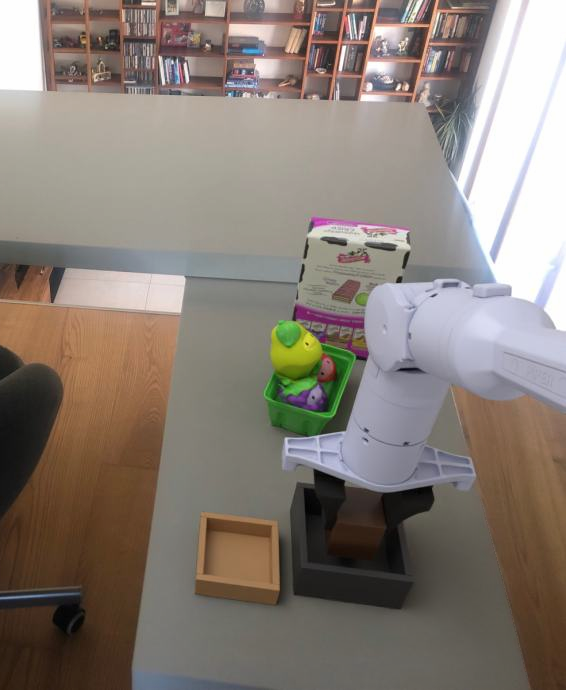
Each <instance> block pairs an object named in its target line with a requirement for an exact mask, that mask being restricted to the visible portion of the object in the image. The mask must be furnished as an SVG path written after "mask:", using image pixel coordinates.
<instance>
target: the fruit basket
mask: <svg viewBox="0 0 566 690" xmlns="http://www.w3.org/2000/svg"><path fill="white" fill-rule="evenodd" d="M270 341H271V345H270V351H269V355H270V356H269V357H270V362H271V365H272V367H273V369H274V370H273V372H272V374H271V376H270V379H269V380H268V383H267V384H266V387H265V389H264V391H263V397H264V400H265V403H266V405H267V409H268V414H269V419H270V424H271V425H273V426H277V427H281V428H283V429H285V430H287V431H290V432H293V433H297V434H300V435H307V437H312V436H318V435H321V433H322V431H323V430H324V428H325V427H326V425H327V424H328V422H329V421H331V420H332V419H334V417H335V416H336V413H337V411H338V407H339V404H340V402H341V399H342V396H343V394H344V391H345V389H346V385H347V383H348V381H349V378H350V375H351V373H352V369H353V367H354V365H355V362H356V359H357V358H356V356H355V354H354V353H352V352H350V351H348V350H344V349H341V348H337V347H333V346H330V345H326V344H323V343H320V342H319V341H318V339H317V338H316V337H315V336H314V335H313V334H311V333H310V332H309V331H307V330H306V329H304V328H303V327H302V326H301V325H300V324H299V323H297V322H294V321H291V320H286V321H285V320H284V319H278V321H277V325H275V326H274V328H273V329H272V331H271V333H270Z"/></svg>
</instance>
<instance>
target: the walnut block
mask: <svg viewBox="0 0 566 690" xmlns="http://www.w3.org/2000/svg"><path fill="white" fill-rule="evenodd" d="M345 493H346V501H345V502H344V503H343V504H342V505H341V507H340V509H339V510H338V512H337V515H336V520H335V523H334V526H333V528H332V529H331V530H325V529H324V530H325V542H326V554H327V555H330V556H338V557H345V558H353V559H361V560H369V561H373V560H374V557H375V555H376V552H377V550H378V548H379V545H380V543H381V540H382V538H383V535H384V533H385V531H386V522H385V515H384V509H383V503H382V497H381V492H377V491H372V490H369V489H366V488H364V487H357V486H348V485H345Z"/></svg>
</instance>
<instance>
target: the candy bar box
mask: <svg viewBox="0 0 566 690" xmlns="http://www.w3.org/2000/svg"><path fill="white" fill-rule="evenodd" d="M410 234H411V228H410V227H402V226H393V225H388V224H387V225H385V224H378V223H369V222H361V221H353V220H343V219H335V218H326V217H319V216H310V219H309V224H308V228H307V232H306V237H305V242H304V249H303V254H302V259H301V265H300V271H299V277H298V282H297V288H296V293H295V299H294V302H293V303H294V304H293V309H292V315H291V320H290V321H294V322H297V323H299V324H300V325H301V326H302V327H303V328H304V329H306V330H307V331H309V332H310V333H311V334H313V335H314V336H315V337H316V338H317V339H318V341H319V342H320V343H323V344H326V345H330V346H333V347H337V348H341V349H344V350H348V351H350V352H352V353H354V354H355V356H356V359H360V360H366V361H367V359H368V356H369V351H368V348H367V344H366V339H365V330H364V318H365V309H366V304H367V300H368V298H369V295H370V293H371V291H372V290H373V289H374V288H375V287H376V286H379V285H383V284H385V283H391V284H395V283H403V279H404V274H405V270H406V268H407V266H408V265H407V264H408V261H409V259H410V255H411V254H410V253H411V250H412V248H411V240H410V239H411V237H410Z"/></svg>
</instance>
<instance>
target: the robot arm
mask: <svg viewBox="0 0 566 690" xmlns="http://www.w3.org/2000/svg"><path fill="white" fill-rule="evenodd" d="M512 290H513V287H512V286H511V285H510V284H508V283H507V284H506V283H501V282H495V283H493V282H492V283H475V284H474V285H473V286H471V285H469V284H468V283H466V282H465V281H463V280H460V279H457V278H437V279H435V280H433V281H426V282H425V281H424V282H422V281H421V282H401V283H395V284H391V283H385V284H383V285H379V286H376V287H375V288H374V289H373V290H372V291H371V293H370V295H369V298H368V300H367V304H366V309H365V318H364V330H365V339H366V344H367V348H368V351H369V356H368V359H367V360H366V363H365V365H364V370H363V372H362V376H361V380H360V382H359V387H358V390H357V393H356V396H355V399H354V402H353V406H352V409H351V413H350V416H349V418H348V419H349V420H348V422H347V426H346V429H345V430H344V431H343V430H342V431H338V432H331V433H324V434H319V435H318V436H312V437H310V436H307V437H304V436H303V437H284V441H283V445H282V449H281V470H282V471H289V472H295V471H296V470H297V467H305V468H311V469H312V474H313V484H314V487H315V492H316V495H317V498H318V499H319V501H320V503H321V505H322V520H323V529H325V530H331V529H332V528H333V526H334V523H335V520H336V515H337V512H338V510H339V509H340V507H341V505H342V504H343V503H344V502H345V501H346V493H345V486H346V484H345V483H346V482H348V483H350V484H353V485H355V486H359V487H360V488H366V489H369V490H372V491H377V492H383V494H382V503H383V509H384V515H385V522H386V531H385V533H384V535H383V537H385V536H386V535H387V534H388V533H389V532H390V531H392V530H393V529H394V528H395V527H396V526H397V525H398V524H400V523H401V522H402V521H403V522H404V521H405V520H407V519H409V518H411V517H413V516H416V515H419V514H421V513H426V512H429V511H430V510H431V509H432V507H433V505H434V503H435V494H434V489H433V487H434V486H436V485H441V484H447V483H449V484H452V485H453V488H454V489H455V490H457V491H462V492H463V491H464V492H470V490H471V488H472V486H473V484H474V482H475V480H476V479H477V474H476V470H475V467H474V462H473V460H472V457H470V456H467V455H466V456H465V455H459V454H455V453H451V452H448V451H444V450H442V449H439V448H436V447H434V446H430V445H427V443H428V440H429V439H430V435H431V432H432V430H433V428H434V426H435V423H436V421H437V418H438V416H439V414H440V411H441V409H442V406H443V404H444V402H445V399H446V397H447V395H448V393H449V390H450V388H451V386H456V387H458V388H460V389H462V390H464V391H466V392H468V393H471V394H473V395H475V396H477V397H479V398H482V399H484V400H489V401H492V402H494V401H495V402H508V401H513V400H516V399H520V398H522V397H525V396H528V397H531V398H532V399H534V400H536V401H538V402H540V403H542V404H544V405H546V406H548V407H550V408H552V409H554V410H556V411H558V412H560V413H562V414H564V415H566V330H561V329H557V327H556V325H555V322H554V321H553V320H552V318H551V316H550V315H549V314H548V313H547V312H546V310H544V309H543V308H542V307H541V306H540V305H538V304H537V303H534V302H533V301H530V300H527V299H524V298H519V297H515V296H512Z"/></svg>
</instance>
